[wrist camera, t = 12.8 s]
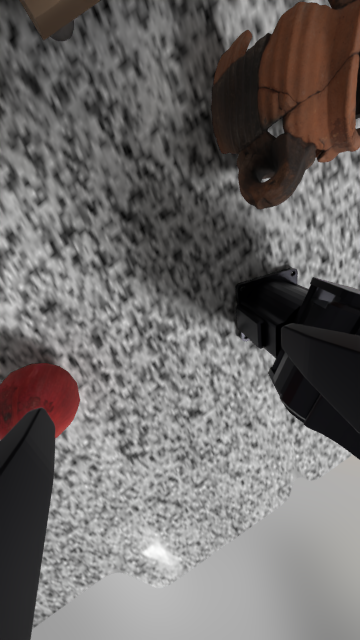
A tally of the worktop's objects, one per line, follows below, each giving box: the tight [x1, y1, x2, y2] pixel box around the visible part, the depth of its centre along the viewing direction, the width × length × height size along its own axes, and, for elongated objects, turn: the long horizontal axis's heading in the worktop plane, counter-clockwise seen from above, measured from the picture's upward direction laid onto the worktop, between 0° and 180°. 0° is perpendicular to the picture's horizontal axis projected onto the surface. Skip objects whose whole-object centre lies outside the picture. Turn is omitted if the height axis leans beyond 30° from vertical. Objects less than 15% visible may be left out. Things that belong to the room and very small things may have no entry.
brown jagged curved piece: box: [211, 0, 360, 209], centre depth 16 cm, size 12×10×8 cm
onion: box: [0, 363, 80, 440], centre depth 18 cm, size 6×6×8 cm
